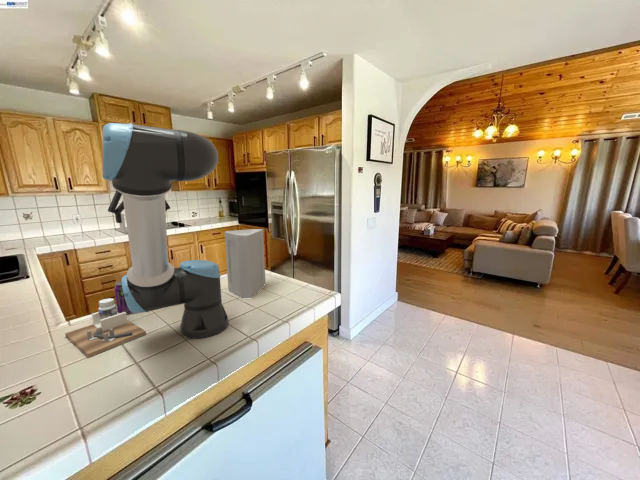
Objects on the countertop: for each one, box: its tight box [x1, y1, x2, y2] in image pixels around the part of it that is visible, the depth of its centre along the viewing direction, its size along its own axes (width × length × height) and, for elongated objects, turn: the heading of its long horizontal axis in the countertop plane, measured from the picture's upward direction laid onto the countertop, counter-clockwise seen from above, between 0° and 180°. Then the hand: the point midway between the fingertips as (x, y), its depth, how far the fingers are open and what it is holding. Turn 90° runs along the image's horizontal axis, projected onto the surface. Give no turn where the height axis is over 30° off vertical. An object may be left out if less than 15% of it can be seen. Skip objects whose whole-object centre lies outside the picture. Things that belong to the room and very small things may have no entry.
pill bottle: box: [98, 297, 117, 320], centre depth 90 cm, size 5×5×8 cm
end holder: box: [91, 306, 128, 332], centre depth 91 cm, size 8×7×4 cm
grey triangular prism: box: [224, 228, 266, 299], centre depth 123 cm, size 19×15×28 cm
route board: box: [64, 319, 147, 359], centre depth 86 cm, size 20×15×4 cm
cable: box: [93, 329, 132, 339], centre depth 83 cm, size 13×4×1 cm, turn 81°
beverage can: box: [113, 280, 133, 315], centre depth 102 cm, size 7×7×12 cm
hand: (143, 229), depth 101 cm, fingers open, 13 cm apart
